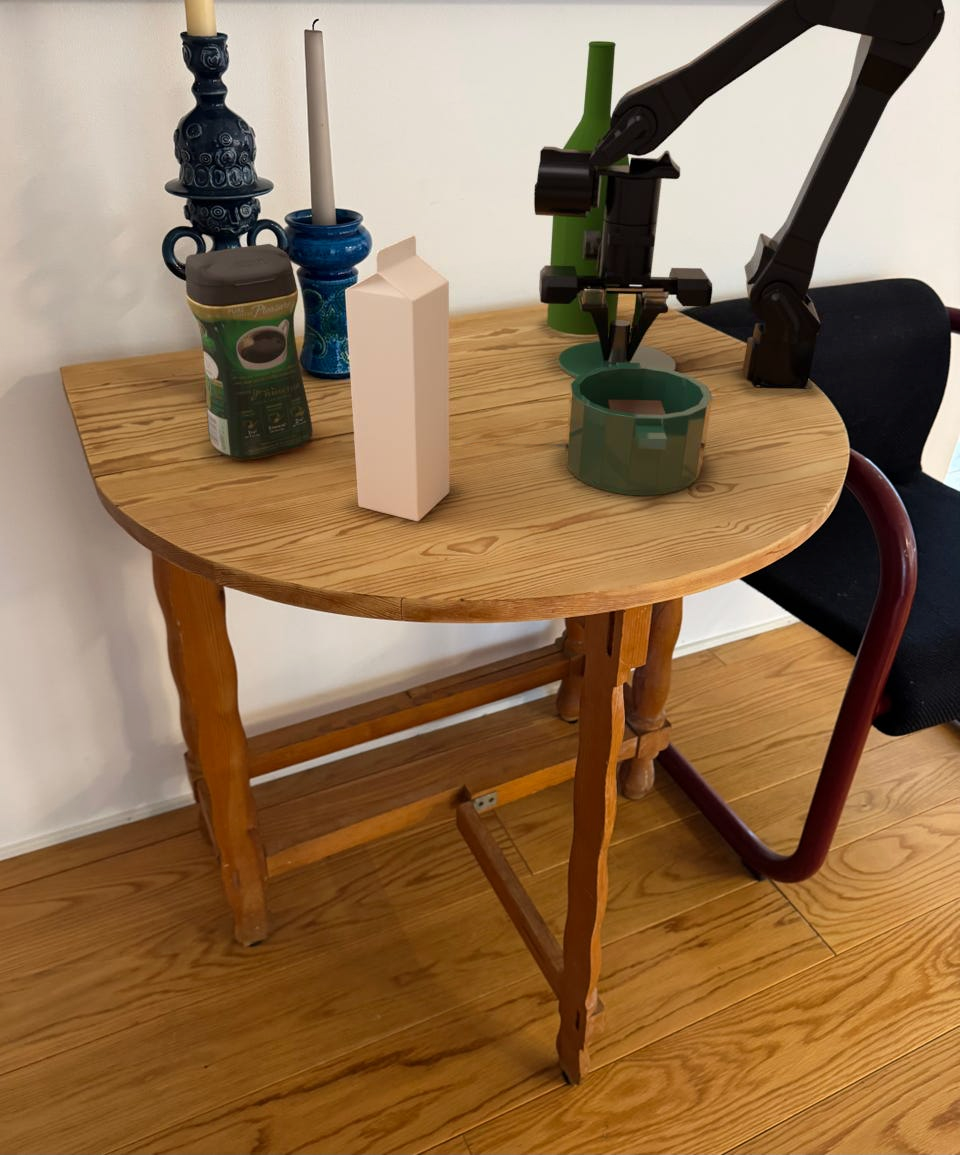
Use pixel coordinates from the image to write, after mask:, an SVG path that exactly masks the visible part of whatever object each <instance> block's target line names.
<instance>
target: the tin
mask: <svg viewBox="0 0 960 1155" xmlns="http://www.w3.org/2000/svg"><path fill="white" fill-rule="evenodd" d="M608 400H656V401H661V403H662V405H663V408H664V411H665V413H666V414H664V415H643V414H631V413H626V412H620V411H614V410H610V409H607V404H608ZM712 402H713V395H712V393H711V391H710V389H709V387H708V385H706V384H704V383H703V382H701V381H700V380H698V379H697V378H695V377H693V376H691V375H688V374H685V373H681V372H679V371H676V370H675V371H673V370H669V369H663V368H657V367H650V366H641V363H622V362H617V363H616V366H610V367H603V368H597V369H594V370H591V371H588V372H586V373H583V374H580V375H579V376H578V377H577V378H574V379H573V381H572V382H570V386H569V401H568V412H567V413H568V415H567V428H566V440H565V441H566V443H565V464H566V468H567V469H568V472H570V473H571V475H572V476H574V477H575V478H576V479H577V480H579V481H580V482H582V483H584V484H586V485H588V486H591V487H592V488H595V489H599V490H601V491H606V492H609V493H613V494H620V495H627V496H639V497H640V496H641V497H643V496H659V495H668V494H671V493H675V492H678V491H681V490H683V489H686V488H688V487H689V486H691V485H692V484H693V483H695V482H696V481H697V479H698V478H699V476H700V473H701V472H700V471H701V469H702V466H703V459H704V453H705V447H706V441H707V436H708V428H709V423H710V416H711V410H712Z"/></svg>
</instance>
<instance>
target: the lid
mask: <svg viewBox="0 0 960 1155" xmlns="http://www.w3.org/2000/svg"><path fill="white" fill-rule="evenodd" d="M631 326H632V322H630V321H628V320H625V319H616V320H613V321H611V322H610V326H609V332H608V338H609V352H608V359H607V361H604V359H603V355H602V351H601V346H600V342H599V341H591V342H585V343H584V342H583V343H579V344H575V345H573V346H569V347H567V348H565V349H564V350H563V351H561V352H560V354H559V355H558V357H557V358H558V359H557V360H558V361H557V363H558V367H559V368H560V370H561V371H563V372H564V373H565V374H566V375H568V376H570V377H572V378H574V379H576V378H577V377H578V376H579V375H580V374H583V373H586V372H588V371H591V370H594V369H597V368H603V367H610V366H616V363H617V362H622V363H641V366H650V367H657V368H663V369H669V370H673V371H676V365H677V364H676V361H675V360H674V359H673V357H672V356H670V355H669V354H668V353H666V352H664V351H662V350H660V349H657V348H654V347H652V346H647V345H644V344H640V345H639V346H638V348H637V350H636V352H635V354H634V356H633V358H632V360H631V361H627V357H628V347H629V338H630V330H631Z"/></svg>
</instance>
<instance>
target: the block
mask: <svg viewBox="0 0 960 1155" xmlns="http://www.w3.org/2000/svg"><path fill="white" fill-rule="evenodd" d="M607 409H610V410H614V411H620V412H626V413H631V414H643V415H664V414H666V413H665V411H664V408H663V405H662V403H661V401H656V400H608V404H607Z"/></svg>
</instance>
